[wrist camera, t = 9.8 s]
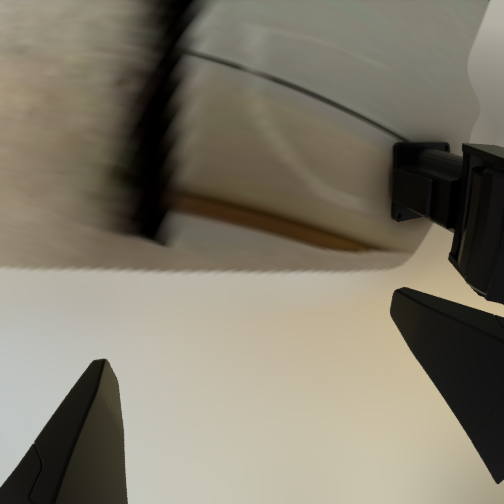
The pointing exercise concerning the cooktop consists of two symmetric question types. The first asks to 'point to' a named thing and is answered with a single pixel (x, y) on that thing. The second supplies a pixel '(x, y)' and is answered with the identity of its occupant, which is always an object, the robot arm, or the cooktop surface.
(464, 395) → the robot arm
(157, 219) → the cooktop surface
